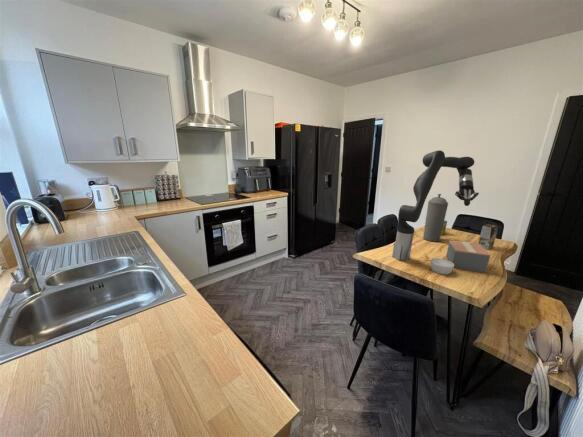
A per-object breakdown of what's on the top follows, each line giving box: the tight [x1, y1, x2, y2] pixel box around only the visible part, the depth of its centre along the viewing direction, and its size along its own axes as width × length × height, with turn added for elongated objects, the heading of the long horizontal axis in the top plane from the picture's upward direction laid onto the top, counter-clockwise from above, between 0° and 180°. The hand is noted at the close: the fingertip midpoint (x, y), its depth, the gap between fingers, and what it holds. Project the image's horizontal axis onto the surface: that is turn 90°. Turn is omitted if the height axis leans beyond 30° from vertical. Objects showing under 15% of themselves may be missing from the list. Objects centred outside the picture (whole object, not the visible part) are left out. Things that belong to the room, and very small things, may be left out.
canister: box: [422, 193, 449, 242], centre depth 175 cm, size 13×13×35 cm
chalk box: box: [441, 219, 448, 236], centre depth 192 cm, size 9×9×15 cm
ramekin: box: [429, 257, 454, 275], centre depth 132 cm, size 11×11×5 cm
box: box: [445, 242, 491, 274], centre depth 139 cm, size 16×16×10 cm
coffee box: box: [477, 223, 499, 251], centre depth 164 cm, size 9×6×16 cm
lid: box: [448, 239, 491, 257], centre depth 138 cm, size 16×16×1 cm
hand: (467, 205), depth 148 cm, fingers closed
